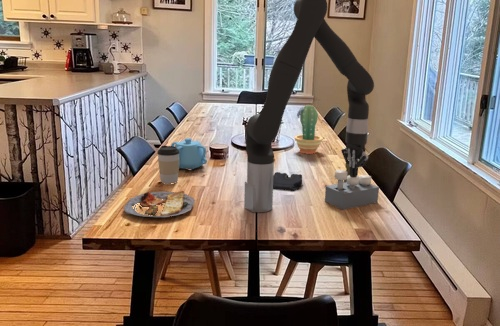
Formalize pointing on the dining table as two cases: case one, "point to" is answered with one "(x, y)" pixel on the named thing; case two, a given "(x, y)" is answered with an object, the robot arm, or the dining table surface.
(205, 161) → the decorative pot
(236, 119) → the dining table surface
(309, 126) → the potted cactus
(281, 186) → the dark slate chunk
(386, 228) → the dining table surface
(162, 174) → the coffee cup
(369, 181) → the knob far
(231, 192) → the dining table surface
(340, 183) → the knob near
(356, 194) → the mount block
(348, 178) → the knob middle
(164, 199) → the food plate
